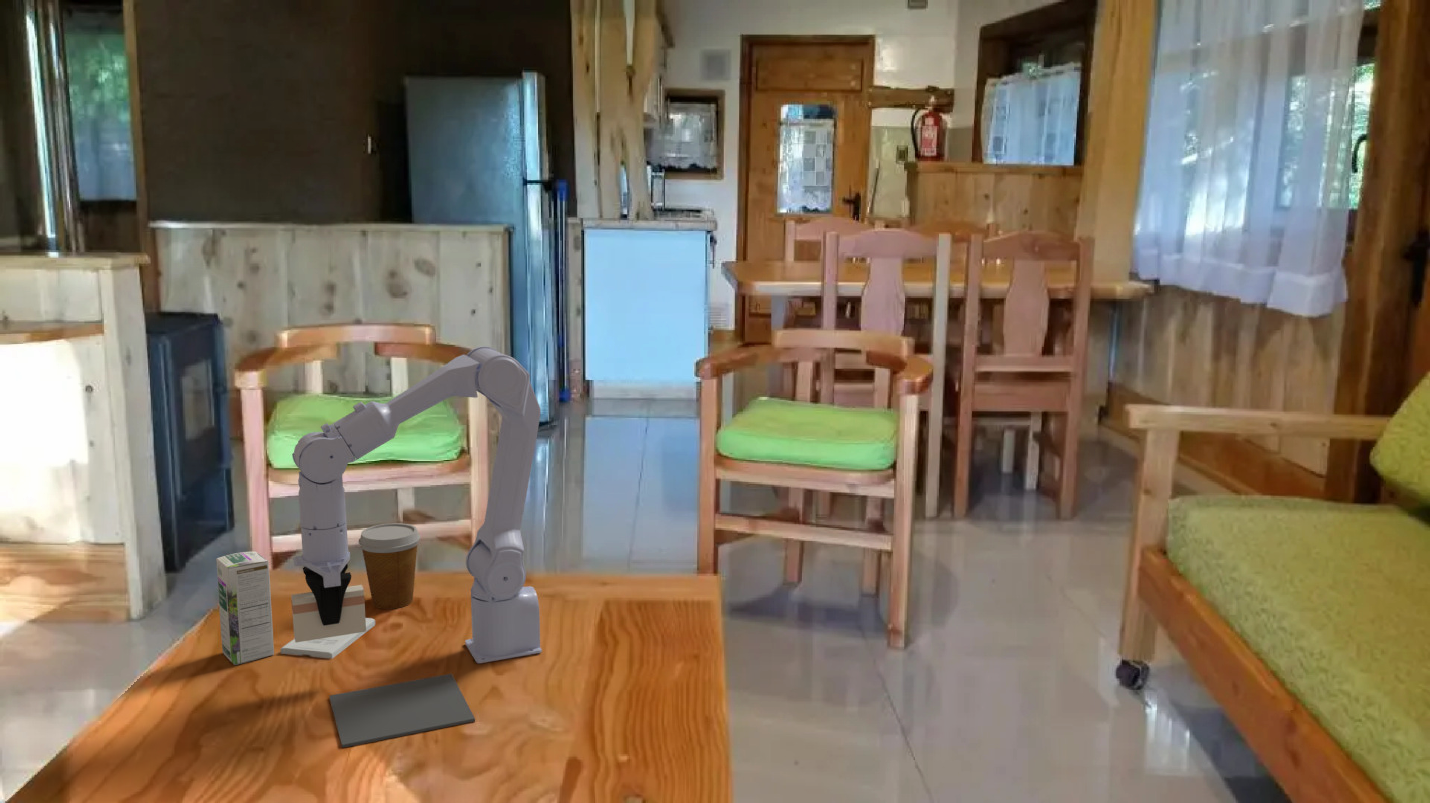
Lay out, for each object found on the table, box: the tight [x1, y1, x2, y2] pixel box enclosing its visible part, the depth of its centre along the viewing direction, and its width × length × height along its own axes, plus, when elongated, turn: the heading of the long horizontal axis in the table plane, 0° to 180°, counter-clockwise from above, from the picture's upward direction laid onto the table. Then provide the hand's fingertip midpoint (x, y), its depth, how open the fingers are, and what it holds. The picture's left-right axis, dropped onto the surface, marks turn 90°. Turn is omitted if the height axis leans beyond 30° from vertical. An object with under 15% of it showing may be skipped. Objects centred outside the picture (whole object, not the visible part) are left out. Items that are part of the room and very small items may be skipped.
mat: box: [329, 673, 476, 749], centre depth 139 cm, size 16×14×1 cm
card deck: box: [290, 584, 367, 643], centre depth 145 cm, size 9×2×6 cm, turn 115°
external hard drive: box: [279, 617, 376, 659], centre depth 160 cm, size 2×8×12 cm
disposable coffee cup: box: [358, 522, 421, 610], centre depth 173 cm, size 10×10×12 cm
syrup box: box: [215, 550, 275, 666], centre depth 153 cm, size 6×6×14 cm
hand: (329, 620), depth 145 cm, fingers closed on card deck, 2 cm apart
